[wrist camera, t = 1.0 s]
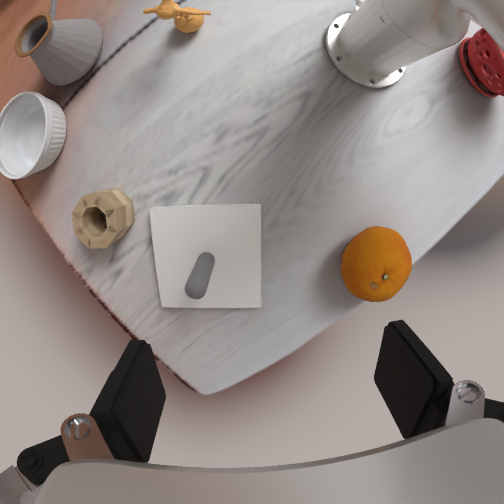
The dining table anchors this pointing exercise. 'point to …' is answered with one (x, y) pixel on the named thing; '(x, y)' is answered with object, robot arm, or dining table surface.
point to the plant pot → (483, 63)
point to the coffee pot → (60, 45)
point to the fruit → (376, 264)
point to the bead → (90, 217)
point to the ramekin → (30, 134)
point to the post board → (212, 237)
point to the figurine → (179, 15)
